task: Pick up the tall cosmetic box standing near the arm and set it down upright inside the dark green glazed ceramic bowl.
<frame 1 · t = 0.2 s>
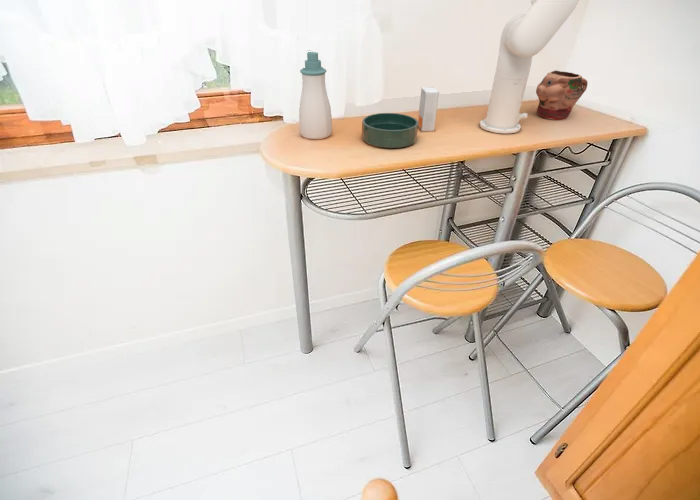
decorative planter: (554, 116, 140), on the table
cosmetic box: (425, 128, 128), on the table
bowl: (389, 139, 119), on the table
soap bottle: (316, 135, 122), on the table
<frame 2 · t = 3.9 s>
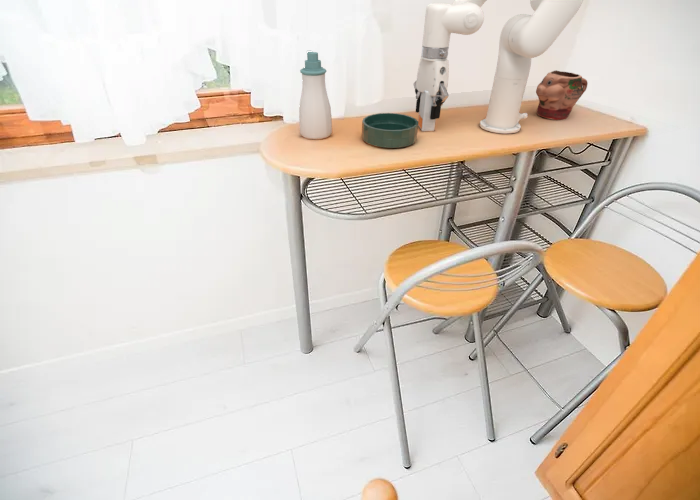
hand: (427, 114, 125), 4 cm above the table, tool pointing down, fingers closed on cosmetic box, 7 cm apart
cosmetic box: (425, 128, 128), on the table, touching gripper
everything else where it was.
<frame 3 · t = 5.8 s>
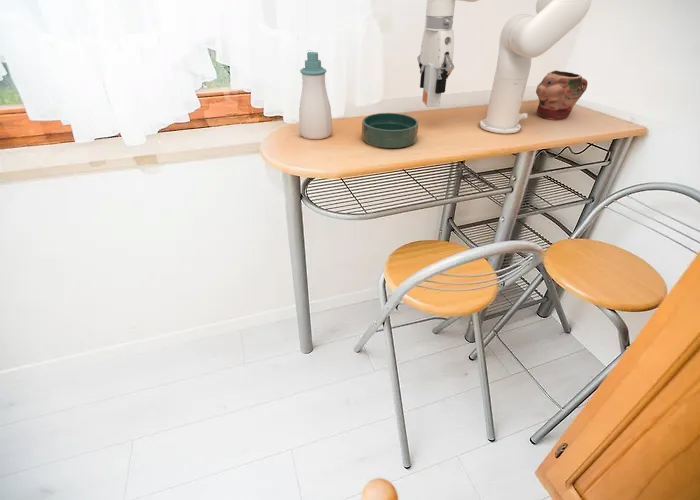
hand: (432, 89, 121), 12 cm above the table, tool pointing down, fingers closed on cosmetic box, 7 cm apart
cosmetic box: (430, 104, 123), point 7 cm above the table, touching gripper
everything else where it was.
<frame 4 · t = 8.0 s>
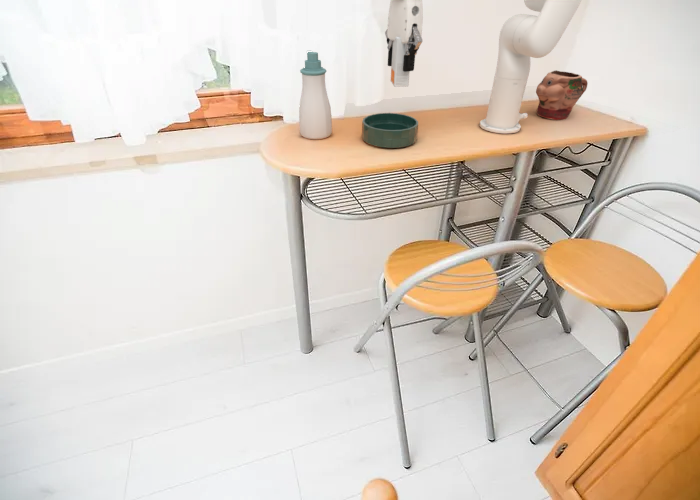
hand: (400, 67, 109), 20 cm above the table, tool pointing down, fingers closed on cosmetic box, 7 cm apart
cosmetic box: (399, 84, 112), point 15 cm above the table, touching gripper
everything else where it was.
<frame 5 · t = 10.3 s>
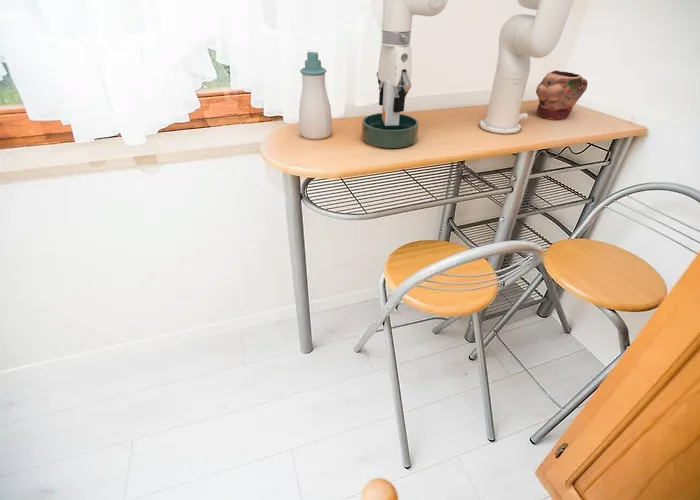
hand: (391, 107, 114), 9 cm above the table, tool pointing down, fingers closed on cosmetic box, 7 cm apart
cosmetic box: (390, 123, 116), point 5 cm above the table, touching gripper
everything else where it was.
when the fingers open (5 cm above the table, at t = 12.0 s): cosmetic box stays where it is, resting on bowl.
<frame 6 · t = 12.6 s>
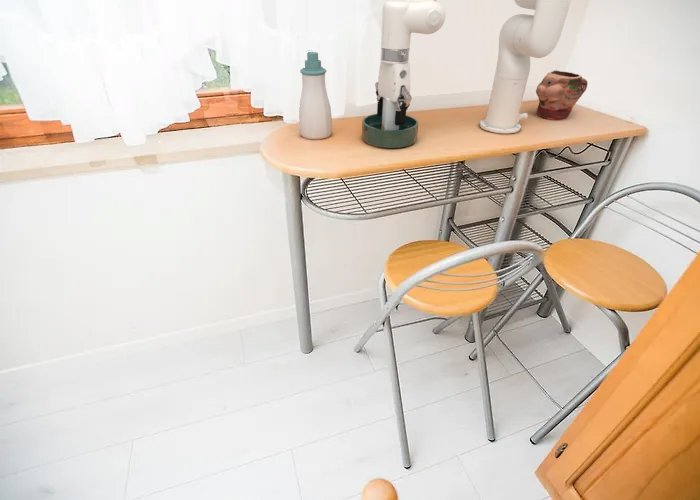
hand: (390, 119, 116), 6 cm above the table, tool pointing down, fingers open, 9 cm apart
cosmetic box: (389, 138, 119), resting on bowl
everything else where it was.
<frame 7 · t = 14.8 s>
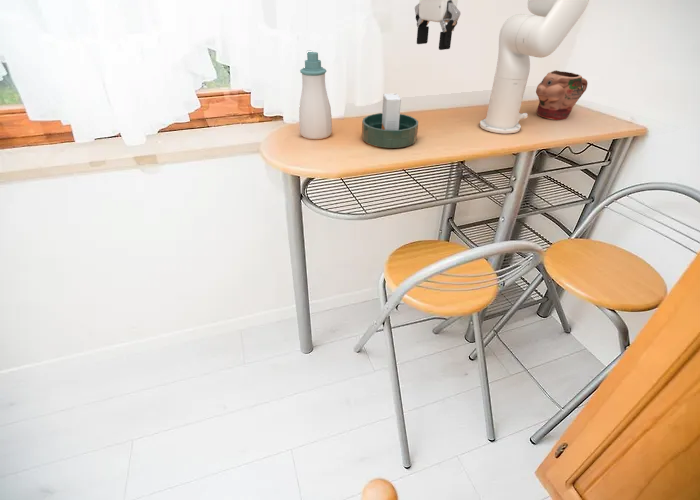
hand: (432, 46, 104), 25 cm above the table, tool pointing down, fingers open, 9 cm apart
nothing on the table moved.
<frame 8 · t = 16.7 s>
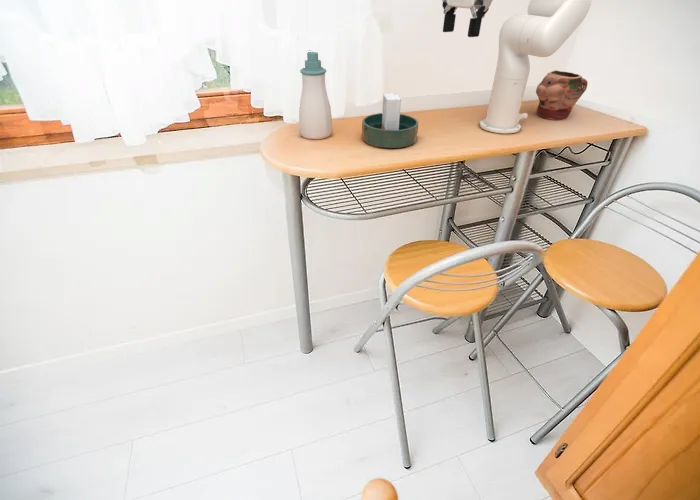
hand: (460, 34, 102), 28 cm above the table, tool pointing down, fingers open, 9 cm apart
nothing on the table moved.
at the end: cosmetic box inside the target area in the bowl (0.1 cm from its centre), point 0.4 cm above the bowl's base; cosmetic box tilted 0°; the gripper is holding nothing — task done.
